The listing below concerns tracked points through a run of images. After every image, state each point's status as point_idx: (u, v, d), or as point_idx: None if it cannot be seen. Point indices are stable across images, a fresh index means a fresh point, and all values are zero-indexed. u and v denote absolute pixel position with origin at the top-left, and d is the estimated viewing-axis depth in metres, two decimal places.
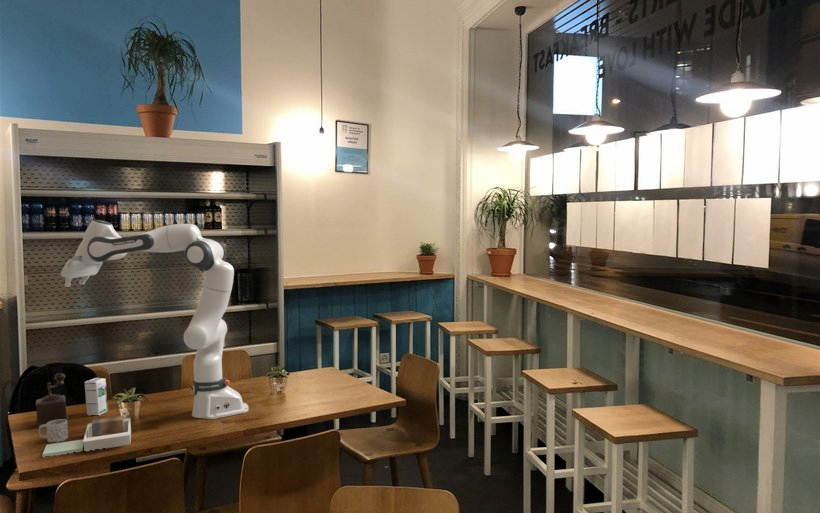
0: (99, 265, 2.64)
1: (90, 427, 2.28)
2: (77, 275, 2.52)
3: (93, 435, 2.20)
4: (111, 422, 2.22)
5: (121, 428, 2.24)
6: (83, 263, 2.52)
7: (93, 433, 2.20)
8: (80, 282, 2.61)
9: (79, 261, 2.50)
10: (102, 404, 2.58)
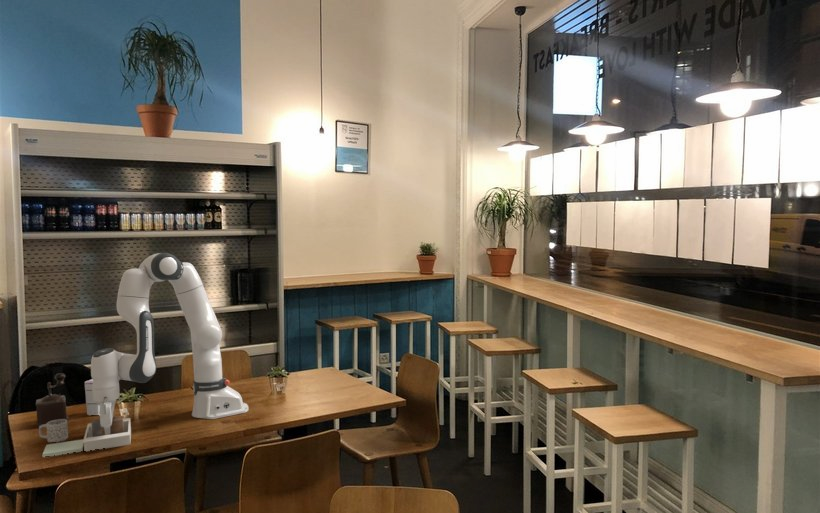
0: None
1: (90, 427, 2.28)
2: (112, 418, 2.21)
3: (93, 435, 2.20)
4: None
5: (121, 428, 2.24)
6: (111, 402, 2.21)
7: (93, 433, 2.20)
8: None
9: (108, 402, 2.19)
10: None
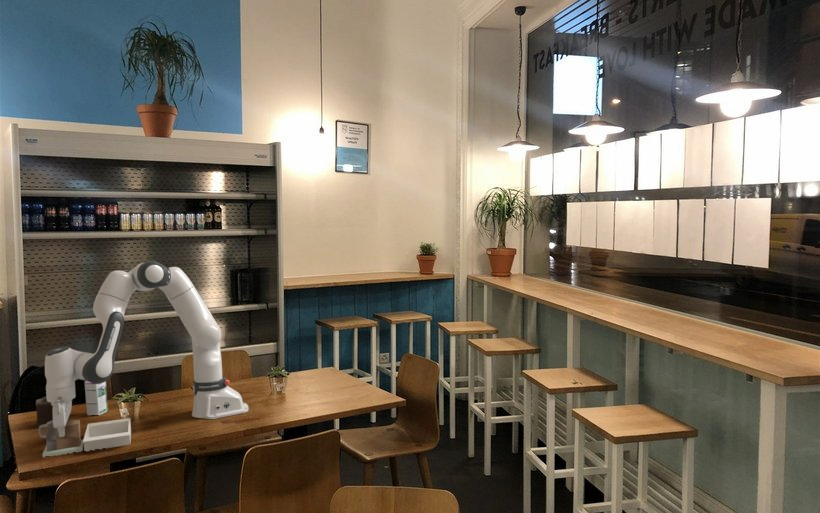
0: None
1: (90, 427, 2.28)
2: (67, 418, 2.14)
3: (47, 440, 2.13)
4: (66, 427, 2.15)
5: (77, 433, 2.16)
6: (66, 402, 2.14)
7: (47, 438, 2.13)
8: None
9: (62, 402, 2.11)
10: (102, 404, 2.58)
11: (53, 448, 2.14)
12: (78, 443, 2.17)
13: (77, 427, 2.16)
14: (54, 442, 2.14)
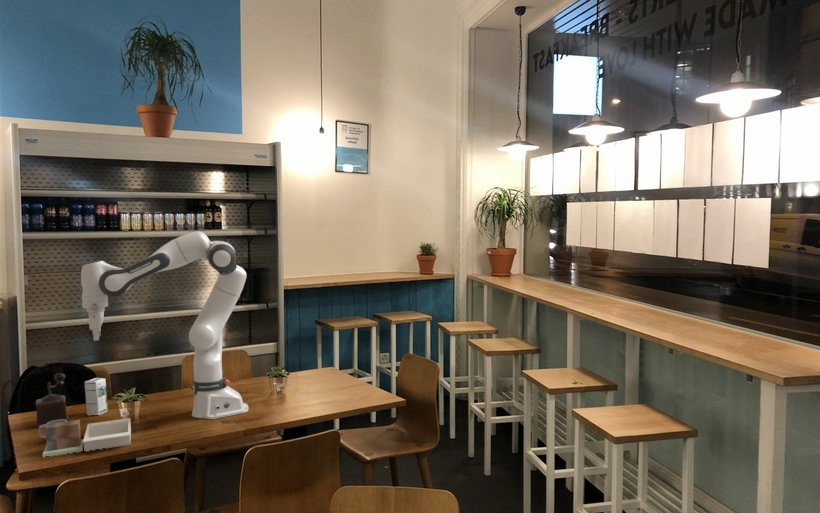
0: None
1: (90, 427, 2.28)
2: None
3: (47, 440, 2.13)
4: (66, 427, 2.15)
5: (77, 433, 2.16)
6: (100, 309, 2.36)
7: (47, 438, 2.13)
8: None
9: (97, 308, 2.33)
10: (102, 404, 2.58)
11: (53, 448, 2.14)
12: (78, 443, 2.17)
13: (77, 427, 2.16)
14: (54, 442, 2.14)
